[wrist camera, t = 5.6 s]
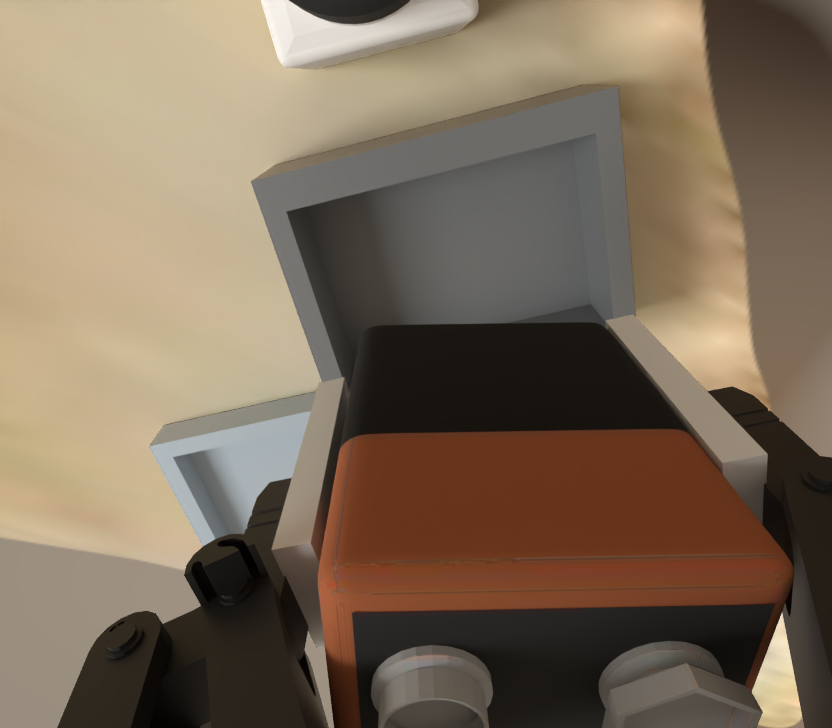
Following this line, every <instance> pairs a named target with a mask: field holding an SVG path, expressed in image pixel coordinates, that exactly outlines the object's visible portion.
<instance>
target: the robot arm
mask: <svg viewBox="0 0 832 728" xmlns="http://www.w3.org/2000/svg"><path fill="white" fill-rule="evenodd" d="M605 321H606V329H607V330H608V331H609V333H610V334H611V335H612V336H613V338H614V339H615V340H616V341H617V343H618V344H619V345H620V346H621V348H622V349H623V350H624V351H625V353H626V354H627V355H628V356H629V358H630V359H631V360H632V361H633V363H634V364H635V365H636V367H637V368H638V369H639V370H640V372H641V373H642V374H643V375H644V377H645V378H646V379H647V380H648V382H649V383H650V384H651V385H652V387H653V388H654V389H655V390H656V392H657V393H658V394H659V395H660V397H661V398H662V399H663V400H664V402H665V403H666V404H667V405H668V407H669V408H670V409H671V410H672V412H673V413H674V414H675V415H676V417H677V418H678V419H679V421H680V422H681V423H682V424H683V426H684V427H685V428H686V429H687V431H688V432H689V433H690V434H691V436H692V437H693V438H694V439H695V441H696V442H697V443H698V444H699V446H700V447H701V448H702V449H703V451H704V452H705V453H706V454H707V456H708V457H709V458H710V459H711V461H712V462H713V463H714V464H715V466H716V467H717V468H718V469H719V471H720V472H721V473H722V475H723V476H724V477H725V478H726V480H727V481H728V482H729V483H730V485H731V486H732V487H733V488H734V490H735V491H736V492H737V493H738V495H739V496H740V497H741V498H742V500H743V501H744V502H745V503H746V505H747V506H748V507H749V508H750V510H751V511H752V512H753V513H754V515H755V516H756V517H757V518H758V520H759V521H760V522H761V523H762V525H763V526H764V527H765V528H766V530H767V531H768V532H769V534H770V535H771V536H772V537H773V539H774V540H775V541H776V542H777V544H778V545H779V546H780V547H781V549H782V550H783V551H784V553H785V554H786V555H787V557H788V558H789V560H790V561H791V563H792V565H793V568H794V580H793V583H792V587H791V589H790V592H789V595H788V598H787V600H786V603H785V605H784V608H783V611H782V613H783V618H784V623H785V628H786V633H787V639H788V644H789V649H790V654H791V659H792V665H793V670H794V675H795V680H796V685H797V691H798V696H799V701H800V706H801V711H802V717H803V722H804V727H805V728H832V458H830V457H823V456H819V455H818V454H817V453H816V452H815V451H814V450H813V449H812V448H810V447H809V446H808V445H807V444H806V443H805V442H804V441H803V440H802V439H801V438H799V437H798V436H797V435H796V434H795V433H794V432H793V431H792V430H790V428H789V427H787V426H786V425H785V424H784V423H783V422H780V421H779V418H777V417H776V416H775V415H774V414H773V413H772V412H771V411H768V408H767V407H766V406H764V405H763V404H762V403H761V402H760V401H759V400H758V399H757V398H756V397H755V396H753V395H751V394H749V393H746V392H744V391H742V390H739V389H737V388H735V387H727V388H722V389H717V390H712V391H706V389H705V388H704V387H703V386H702V385H701V384H700V383H699V382H698V381H697V380H696V379H695V378H694V377H693V376H692V375H691V374H690V373H689V372H688V371H687V370H686V369H685V368H684V367H683V366H682V365H681V363H680V362H679V361H678V360H677V359H676V358H675V357H674V356H673V355H672V354H671V353H670V352H669V351H668V350H667V349H666V348H665V347H664V346H663V345H662V344H661V343H660V342H659V341H658V340H657V339H656V337H655V336H654V335H653V334H652V333H651V332H650V331H649V330H648V329H647V328H646V327H645V326H644V325H643V324H642V323H641V322H640V321H639V320H638V319H637V318H636V317H635V316H634V315H628V316H623V317H619V318H614V319H610V320H605ZM349 394H350V393H349V389H348V386H347V383H346V380H345V377H343V378H339V379H334V380H329V381H325V382H320V383H319V385H318V388H317V392H316V395H315V399H314V402H313V406H312V409H311V413H310V416H309V420H308V423H307V427H306V430H305V434H304V437H303V441H302V444H301V448H300V451H299V455H298V458H297V462H296V465H295V469H294V472H293V476H292V478H288V479H283V480H278V481H273V482H270V483H269V484H268V485H267V486H266V487H265V488H264V490H263V491H262V492H261V493H260V494H259V496H258V497H257V499H256V502H255V504H254V507H253V510H252V516H250V518H249V521H248V524H247V529H246V530H245V533H244V535H243V534H229V535H226V536H223V537H219V538H217V539H215V540H213V541H211V542H210V543H208V544H206V545H204V546H203V547H202V548H201V549H200V550H199V551H198V552H196V553H195V554H194V555H193V557H192V558H191V560H190V561H189V562H188V564H187V565H186V570H185V574H184V576H185V577H186V579H187V581H188V582H189V585H190V586H191V588H192V590H193V592H194V594H195V595H196V597H197V599H198V601H199V603H200V604H201V606H200V607H198V608H197V609H195V610H193V611H191V612H189V613H186V614H184V615H182V616H180V617H177V618H175V619H173V620H171V621H169V622H166V623H164V624H162V622H161V621H160V620H159V618H158V616H157V615H156V614H155V613H152V612H149V611H143V612H136V613H133V614H130V615H128V616H126V617H124V618H121V619H120V620H118V621H117V622H115V623H114V624H112V625H111V626H110V627H108V628H107V629H106V630H105V631H104V632H103V633H102V634H101V635H100V636H99V637H98V638H97V640H96V641H95V643H94V644H93V646H92V648H91V649H90V651H89V653H88V656H87V658H86V661H85V663H84V665H83V667H82V670H81V672H80V675H79V677H78V679H77V682H76V684H75V687H74V689H73V691H72V694H71V696H70V699H69V701H68V703H67V706H66V708H65V711H64V713H63V716H62V718H61V720H60V723H59V725H58V727H57V728H329V727H328V723H327V720H326V716H325V713H324V709H323V705H322V702H321V698H320V695H319V691H318V688H317V684H316V681H315V677H314V673H313V670H312V666H311V663H310V661H309V659H308V657H307V654H306V652H305V650H304V648H305V643H306V638H307V632H308V631H309V633H310V635H311V638H312V640H313V642H314V644H315V646H316V648H317V647H322V646H325V644H324V635H323V626H322V618H321V609H320V600H319V591H318V571H319V564H320V558H321V553H322V547H323V541H324V536H325V530H326V524H327V519H328V513H329V507H330V502H331V496H332V490H333V485H334V479H335V473H336V468H337V462H338V456H339V451H340V445H341V440H342V434H343V428H344V423H345V417H346V411H347V406H348V400H349Z"/></svg>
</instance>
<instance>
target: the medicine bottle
mask: <svg viewBox="0 0 832 728" xmlns="http://www.w3.org/2000/svg"><path fill="white" fill-rule="evenodd" d="M261 3H262V6H263V9H264V13H265V16H266V20H267V23H268V26H269V30H270V33H271V36H272V40H273V43H274V47H275V50H276V53H277V57H278V59H279V61H280V63H281V64H282V65H283V66H285V67H289V68H301V69H315V70H317V69H320V68H324V67H328V66H332V65H336V64H340V63H344V62H347V61H351V60H355V59H359V58H363V57H367V56H371V55H374V54H378V53H382V52H386V51H390V50H394V49H398V48H402V47H405V46H409V45H413V44H417V43H421V42H425V41H429V40H432V39H436V38H440V37H444V36H448V35H452V34H455V33H457V32H459V31H460V30H461V29H462V28H464V27H465V26H466V25H467V24H468V23H470V22H471V21H472V20H473V19H474V18H475V17H476V15H477V14H478V9H479V5H478V0H261Z"/></svg>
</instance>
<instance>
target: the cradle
mask: <svg viewBox="0 0 832 728" xmlns="http://www.w3.org/2000/svg"><path fill="white" fill-rule="evenodd" d="M251 183H252V186H253V189H254V192H255V195H256V197H257V200H258V203H259V206H260V209H261V212H262V214H263V217H264V220H265V223H266V226H267V228H268V231H269V234H270V237H271V240H272V242H273V245H274V248H275V251H276V254H277V257H278V259H279V262H280V265H281V268H282V271H283V273H284V276H285V279H286V282H287V285H288V287H289V290H290V293H291V296H292V299H293V301H294V304H295V307H296V310H297V313H298V316H299V318H300V321H301V324H302V327H303V330H304V332H305V335H306V338H307V341H308V344H309V346H310V349H311V352H312V355H313V358H314V361H315V363H316V366H317V369H318V372H319V375H320V377H321V380H322V382H325V381H329V380H334V379H339V378H343V377H345V380H346V383H347V386H348V389H349V393H350V389H351V383H352V377H353V372H354V366H355V360H356V355H357V349H358V344H359V340H360V337H361V335H362V333H363V332H364V331H365V330H366V329H368V328H370V327H373V326H380V325H420V324H489V323H558V322H593V323H598V324H600V325H602V326H604V327H605V328H606V321H605V320H610V319H614V318H619V317H623V316H628V315H634V316H635V317H636V314H635V301H634V288H633V275H632V262H631V249H630V236H629V223H628V210H627V197H626V184H625V171H624V158H623V145H622V132H621V120H620V107H619V94H618V86H599V85H580V86H576V87H572V88H568V89H564V90H560V91H557V92H553V93H549V94H545V95H541V96H537V97H534V98H530V99H526V100H522V101H518V102H514V103H511V104H507V105H503V106H499V107H495V108H492V109H488V110H484V111H480V112H476V113H472V114H469V115H465V116H461V117H457V118H453V119H449V120H446V121H442V122H438V123H434V124H430V125H426V126H423V127H419V128H415V129H411V130H407V131H403V132H400V133H396V134H392V135H388V136H384V137H380V138H377V139H373V140H369V141H365V142H361V143H357V144H354V145H350V146H346V147H342V148H338V149H334V150H331V151H327V152H323V153H319V154H315V155H311V156H308V157H304V158H300V159H296V160H292V161H288V162H285V163H281V164H277V165H274V166H273V167H271V168H270V169H268V170H267V171H266V172H264V173H263V174H261V175H260V176H258V177H257V178H255V179H254V180H252V181H251Z"/></svg>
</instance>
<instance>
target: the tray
mask: <svg viewBox="0 0 832 728" xmlns="http://www.w3.org/2000/svg"><path fill="white" fill-rule="evenodd" d="M316 392H317V391H316ZM316 392H312V393H307V394H303V395H298V396H294V397H289V398H285V399H280V400H276V401H271V402H267V403H262V404H258V405H253V406H249V407H244V408H240V409H235V410H231V411H226V412H222V413H217V414H213V415H208V416H204V417H199V418H195V419H191V420H186V421H182V422H177V423H173V424H168V425H164V426H163V427H162V428H161V430H160V431H159V433H158V434H157V436H156V437H155V438H154V440H153V441H152V443H151V444H150V446H149V448H150V450H151V451H152V453H153V455H154V457H155V459H156V461H157V463H158V464H159V466H160V468H161V470H162V472H163V474H164V476H165V477H166V479H167V481H168V483H169V485H170V487H171V489H172V490H173V492H174V494H175V496H176V498H177V500H178V502H179V504H180V505H181V507H182V509H183V511H184V513H185V515H186V517H187V518H188V520H189V522H190V524H191V526H192V528H193V530H194V531H195V533H196V535H197V537H198V539H199V541H200V543H201V544H202V546H204V545H206V544H208V543H210V542H211V541H213V540H215V539H217V538H219V537H223V536H226V535H229V534H243V535H244V533H245V530H246V529H247V524H248V521H249V518H250V516H252V510H253V507H254V504H255V502H256V499H257V497H258V496H259V494H260V493H261V492H262V491H263V490H264V488H265V487H266V486H267V485H268V484H269V483H270V482H273V481H278V480H283V479H288V478H292V476H293V472H294V469H295V465H296V462H297V458H298V455H299V451H300V448H301V444H302V441H303V437H304V434H305V430H306V427H307V423H308V420H309V416H310V413H311V409H312V406H313V402H314V399H315V395H316Z"/></svg>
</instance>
